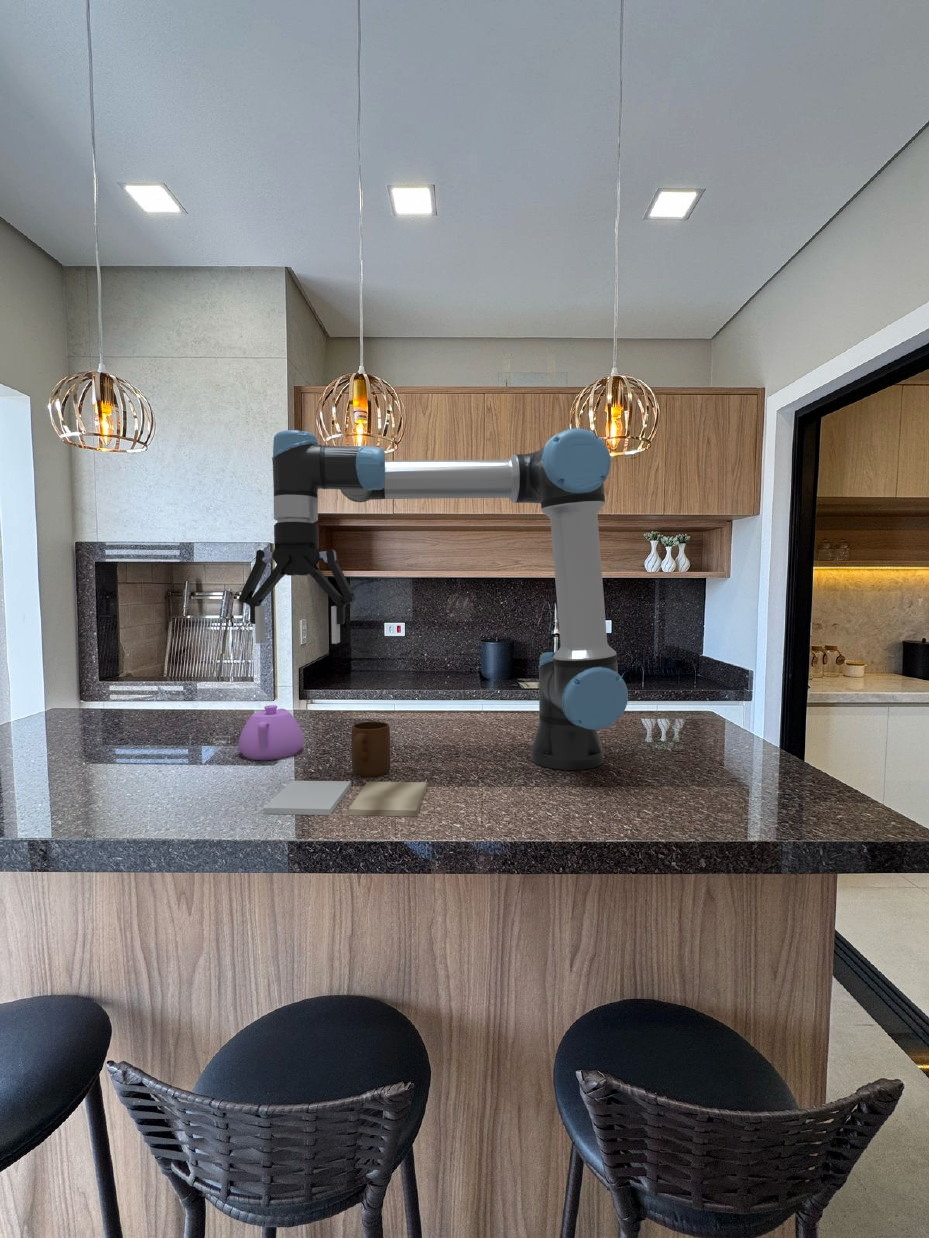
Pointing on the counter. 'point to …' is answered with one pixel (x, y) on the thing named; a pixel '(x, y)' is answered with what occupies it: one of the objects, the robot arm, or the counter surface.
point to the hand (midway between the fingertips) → (298, 643)
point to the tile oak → (389, 799)
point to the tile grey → (308, 798)
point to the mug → (370, 748)
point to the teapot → (271, 735)
